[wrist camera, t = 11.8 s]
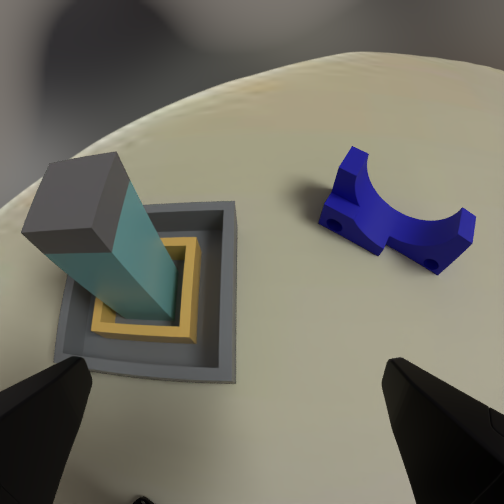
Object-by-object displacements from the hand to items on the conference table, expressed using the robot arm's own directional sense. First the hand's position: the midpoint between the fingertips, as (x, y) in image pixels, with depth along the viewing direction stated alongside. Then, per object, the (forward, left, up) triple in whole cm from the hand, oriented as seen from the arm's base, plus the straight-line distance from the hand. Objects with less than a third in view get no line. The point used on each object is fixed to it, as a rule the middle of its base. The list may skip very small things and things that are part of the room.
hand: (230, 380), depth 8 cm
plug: (+1, +10, -13) cm, 16 cm away
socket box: (+1, +10, -14) cm, 17 cm away
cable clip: (+17, -2, -14) cm, 22 cm away
